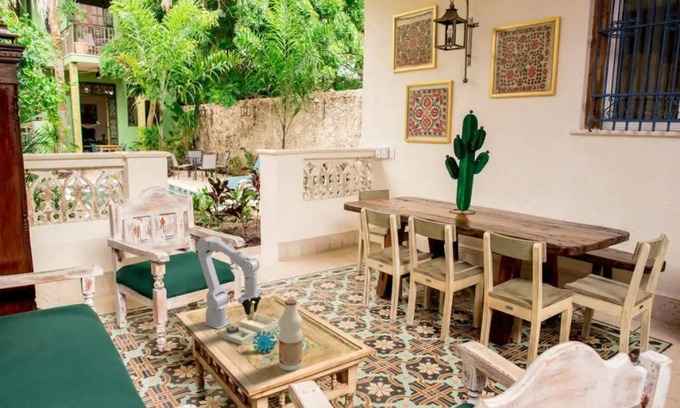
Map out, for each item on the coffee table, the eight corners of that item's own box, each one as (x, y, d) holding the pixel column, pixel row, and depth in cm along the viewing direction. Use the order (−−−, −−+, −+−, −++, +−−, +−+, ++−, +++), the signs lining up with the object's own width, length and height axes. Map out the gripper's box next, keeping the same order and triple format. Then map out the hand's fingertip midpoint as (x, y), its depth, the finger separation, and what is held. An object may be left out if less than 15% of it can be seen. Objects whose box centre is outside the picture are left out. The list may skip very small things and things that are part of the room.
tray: (239, 328, 225) (239, 321, 225) (256, 319, 236) (256, 313, 235) (261, 335, 218) (261, 328, 218) (278, 326, 228) (278, 319, 228)
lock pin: (244, 319, 219) (244, 301, 218) (250, 317, 222) (250, 299, 221) (250, 321, 217) (251, 303, 216) (256, 319, 220) (257, 301, 219)
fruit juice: (291, 373, 186) (292, 307, 181) (274, 366, 191) (274, 301, 186) (306, 364, 193) (307, 300, 188) (289, 357, 198) (290, 294, 194)
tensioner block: (219, 336, 216) (219, 328, 215) (234, 329, 224) (234, 321, 224) (241, 344, 209) (241, 336, 208) (256, 336, 217) (256, 328, 216)
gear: (253, 352, 198) (253, 330, 204) (250, 357, 203) (250, 335, 209) (278, 352, 202) (277, 330, 208) (275, 357, 206) (275, 335, 212)
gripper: (245, 291, 209) (246, 320, 211) (267, 282, 221) (267, 310, 223) (234, 288, 213) (234, 316, 215) (256, 279, 225) (256, 306, 227)
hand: (250, 312), depth 219 cm, fingers closed on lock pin, 4 cm apart
